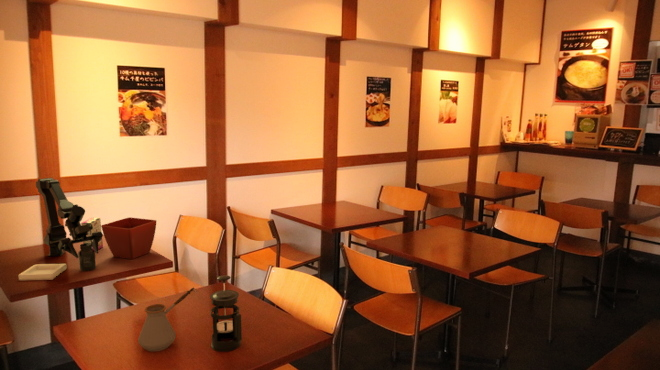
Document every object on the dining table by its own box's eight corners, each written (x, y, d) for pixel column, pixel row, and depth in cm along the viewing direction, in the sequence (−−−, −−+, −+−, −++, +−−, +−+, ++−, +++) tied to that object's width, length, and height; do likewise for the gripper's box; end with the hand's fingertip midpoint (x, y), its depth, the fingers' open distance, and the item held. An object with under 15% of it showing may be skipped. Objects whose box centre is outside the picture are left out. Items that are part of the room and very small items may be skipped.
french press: (203, 345, 157) (200, 277, 153) (225, 334, 164) (223, 269, 160) (229, 356, 150) (226, 285, 146) (250, 344, 157) (249, 276, 154)
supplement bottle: (99, 266, 231) (97, 242, 229) (90, 271, 224) (88, 246, 222) (85, 266, 232) (83, 242, 229) (76, 271, 225) (74, 246, 223)
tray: (35, 269, 227) (34, 264, 226) (66, 268, 228) (66, 263, 228) (19, 280, 213) (18, 274, 213) (52, 279, 214) (51, 274, 214)
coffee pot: (152, 358, 149) (149, 312, 146) (131, 347, 155) (128, 302, 153) (208, 332, 166) (206, 290, 163) (186, 323, 172) (184, 283, 170)
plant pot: (102, 257, 245) (99, 225, 242) (131, 247, 262) (129, 216, 259) (131, 262, 237) (129, 229, 235) (159, 251, 255) (157, 220, 252)
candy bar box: (94, 247, 262) (91, 217, 259) (103, 247, 262) (100, 217, 259) (83, 253, 251) (80, 222, 248) (92, 253, 251) (90, 222, 248)
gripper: (58, 222, 219) (71, 250, 214) (99, 214, 234) (112, 241, 229) (52, 236, 226) (65, 263, 221) (93, 228, 240) (105, 254, 235)
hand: (87, 255), depth 226 cm, fingers open, 9 cm apart
